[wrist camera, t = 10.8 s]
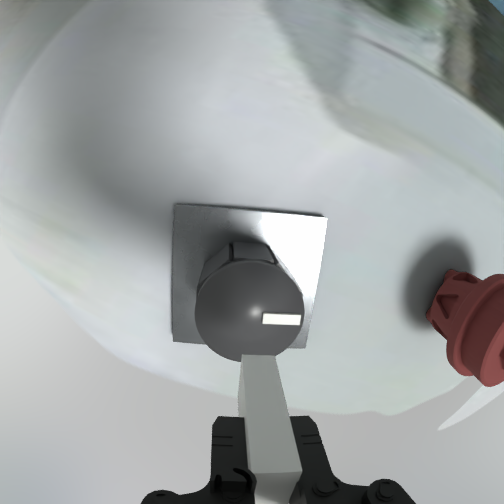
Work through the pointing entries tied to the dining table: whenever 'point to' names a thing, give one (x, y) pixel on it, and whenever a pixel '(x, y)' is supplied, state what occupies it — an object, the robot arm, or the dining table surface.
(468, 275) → the mechanical component
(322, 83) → the dining table surface
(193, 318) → the metal plate
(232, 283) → the knob
